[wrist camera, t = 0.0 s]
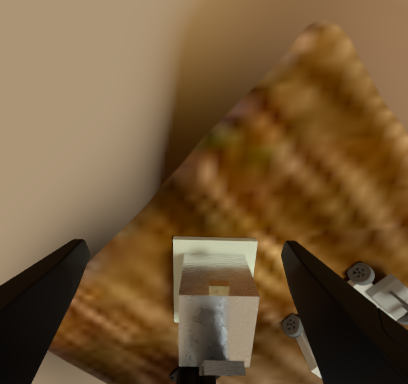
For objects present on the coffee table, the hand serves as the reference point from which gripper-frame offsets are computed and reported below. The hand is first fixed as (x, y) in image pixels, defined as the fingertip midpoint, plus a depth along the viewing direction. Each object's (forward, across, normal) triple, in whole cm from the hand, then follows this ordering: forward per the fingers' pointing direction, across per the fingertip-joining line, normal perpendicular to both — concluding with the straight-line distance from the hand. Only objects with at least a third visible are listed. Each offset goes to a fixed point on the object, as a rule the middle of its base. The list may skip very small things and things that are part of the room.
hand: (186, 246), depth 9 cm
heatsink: (+11, -2, +19) cm, 22 cm away
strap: (+1, -2, +17) cm, 17 cm away
